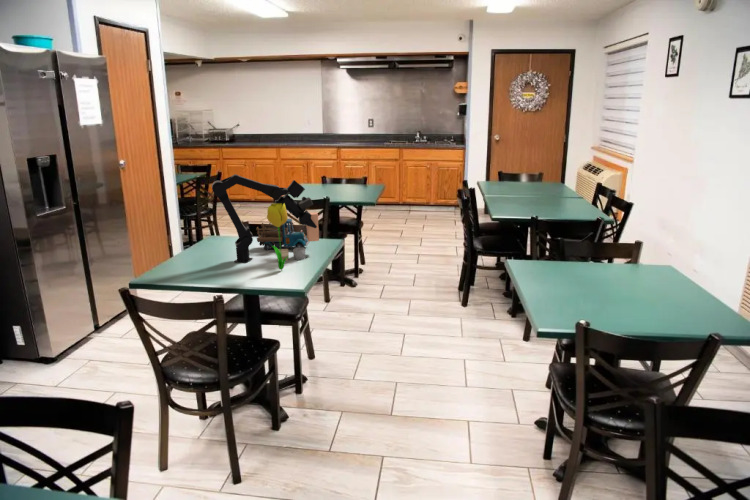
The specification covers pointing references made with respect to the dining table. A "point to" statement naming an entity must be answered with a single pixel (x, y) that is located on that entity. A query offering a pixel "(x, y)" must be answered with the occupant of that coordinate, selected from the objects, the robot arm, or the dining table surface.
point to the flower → (277, 225)
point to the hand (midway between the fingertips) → (315, 226)
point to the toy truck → (281, 236)
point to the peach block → (313, 229)
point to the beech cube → (284, 254)
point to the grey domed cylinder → (299, 253)
